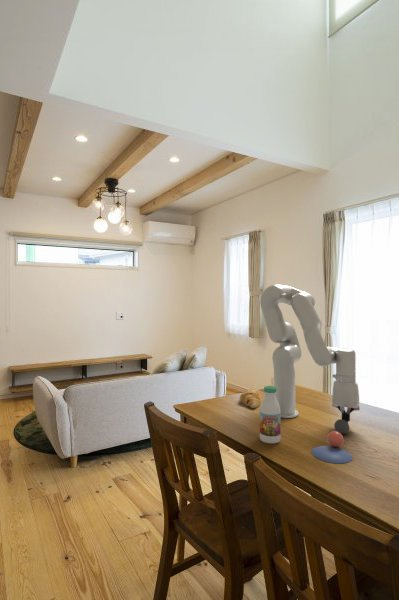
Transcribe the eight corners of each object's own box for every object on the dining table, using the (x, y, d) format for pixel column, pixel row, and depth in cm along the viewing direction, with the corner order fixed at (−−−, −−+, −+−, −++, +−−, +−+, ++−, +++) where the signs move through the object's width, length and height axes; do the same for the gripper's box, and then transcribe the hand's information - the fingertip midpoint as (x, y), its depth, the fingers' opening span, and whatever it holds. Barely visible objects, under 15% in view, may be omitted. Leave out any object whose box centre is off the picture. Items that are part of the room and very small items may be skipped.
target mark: (307, 457, 116) (307, 456, 116) (316, 443, 127) (316, 443, 127) (349, 467, 110) (349, 466, 110) (354, 451, 121) (354, 451, 121)
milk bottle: (257, 436, 134) (257, 384, 134) (276, 435, 135) (277, 384, 135) (262, 444, 127) (262, 390, 126) (283, 443, 127) (283, 389, 127)
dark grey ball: (334, 435, 135) (334, 421, 135) (333, 430, 140) (333, 416, 140) (350, 437, 133) (350, 422, 133) (348, 431, 139) (348, 418, 139)
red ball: (327, 448, 123) (327, 433, 123) (326, 442, 128) (326, 427, 128) (344, 450, 121) (344, 435, 121) (342, 444, 127) (342, 429, 127)
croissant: (260, 416, 167) (268, 402, 167) (242, 407, 166) (250, 392, 166) (250, 402, 188) (257, 389, 188) (234, 394, 187) (241, 381, 187)
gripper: (325, 378, 146) (325, 421, 146) (364, 382, 138) (364, 428, 138) (328, 374, 152) (328, 416, 152) (366, 378, 144) (366, 422, 144)
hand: (345, 422), depth 145 cm, fingers closed
